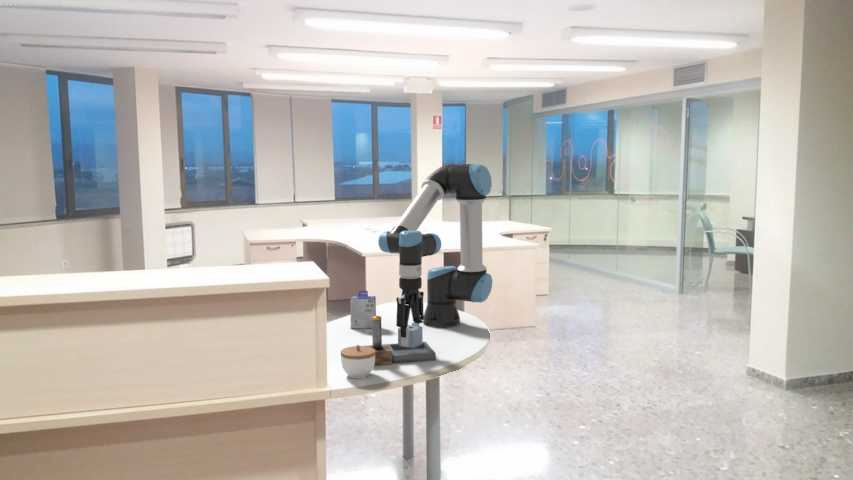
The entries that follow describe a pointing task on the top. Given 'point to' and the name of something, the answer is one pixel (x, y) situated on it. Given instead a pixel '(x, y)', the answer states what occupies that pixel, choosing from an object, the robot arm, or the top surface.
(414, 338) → the block
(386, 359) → the go block
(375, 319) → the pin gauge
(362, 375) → the lidded jar
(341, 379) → the top surface
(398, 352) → the tray
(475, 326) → the top surface
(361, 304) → the ink cartridge box
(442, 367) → the top surface
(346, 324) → the top surface
